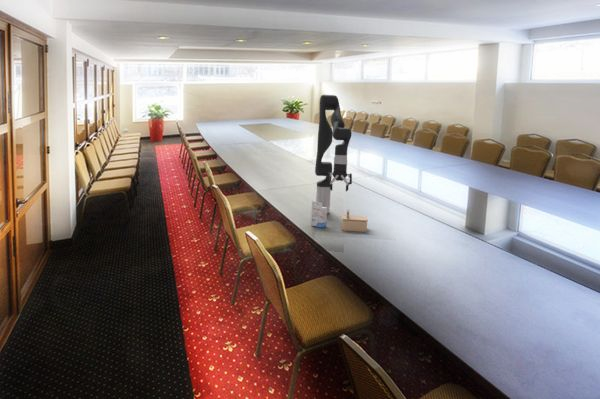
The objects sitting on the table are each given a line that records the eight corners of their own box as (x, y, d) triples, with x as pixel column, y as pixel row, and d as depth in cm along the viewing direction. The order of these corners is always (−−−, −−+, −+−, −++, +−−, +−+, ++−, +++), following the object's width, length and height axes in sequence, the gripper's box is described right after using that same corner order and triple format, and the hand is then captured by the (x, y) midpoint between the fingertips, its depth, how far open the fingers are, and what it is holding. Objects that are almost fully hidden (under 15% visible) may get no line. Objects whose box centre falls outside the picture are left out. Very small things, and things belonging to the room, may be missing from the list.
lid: (342, 215, 242) (342, 208, 241) (366, 217, 240) (366, 209, 240) (342, 219, 230) (342, 212, 230) (367, 221, 229) (368, 213, 228)
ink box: (326, 226, 240) (327, 202, 237) (321, 227, 236) (322, 203, 234) (315, 224, 245) (316, 200, 243) (310, 225, 242) (311, 201, 239)
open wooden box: (341, 226, 242) (342, 216, 241) (365, 227, 241) (366, 217, 240) (342, 230, 232) (342, 220, 231) (366, 231, 230) (367, 221, 229)
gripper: (352, 163, 234) (351, 190, 236) (328, 162, 235) (326, 189, 238) (353, 164, 226) (351, 192, 229) (327, 162, 228) (326, 191, 231)
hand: (338, 190), depth 234 cm, fingers open, 8 cm apart
